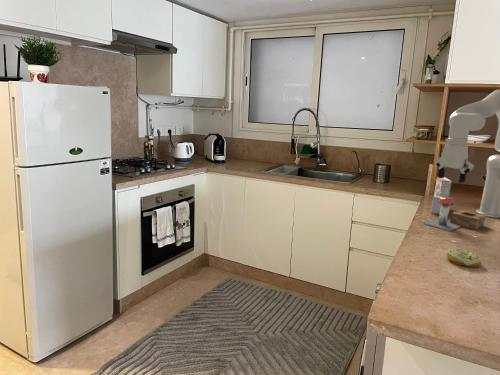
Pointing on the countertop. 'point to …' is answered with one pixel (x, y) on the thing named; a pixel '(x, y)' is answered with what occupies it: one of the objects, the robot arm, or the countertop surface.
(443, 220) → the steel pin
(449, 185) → the candy bar box
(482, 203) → the robot arm
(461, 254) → the decorated donut
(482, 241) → the countertop surface
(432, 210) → the medicine box
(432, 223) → the rubber mat
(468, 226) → the eye block
